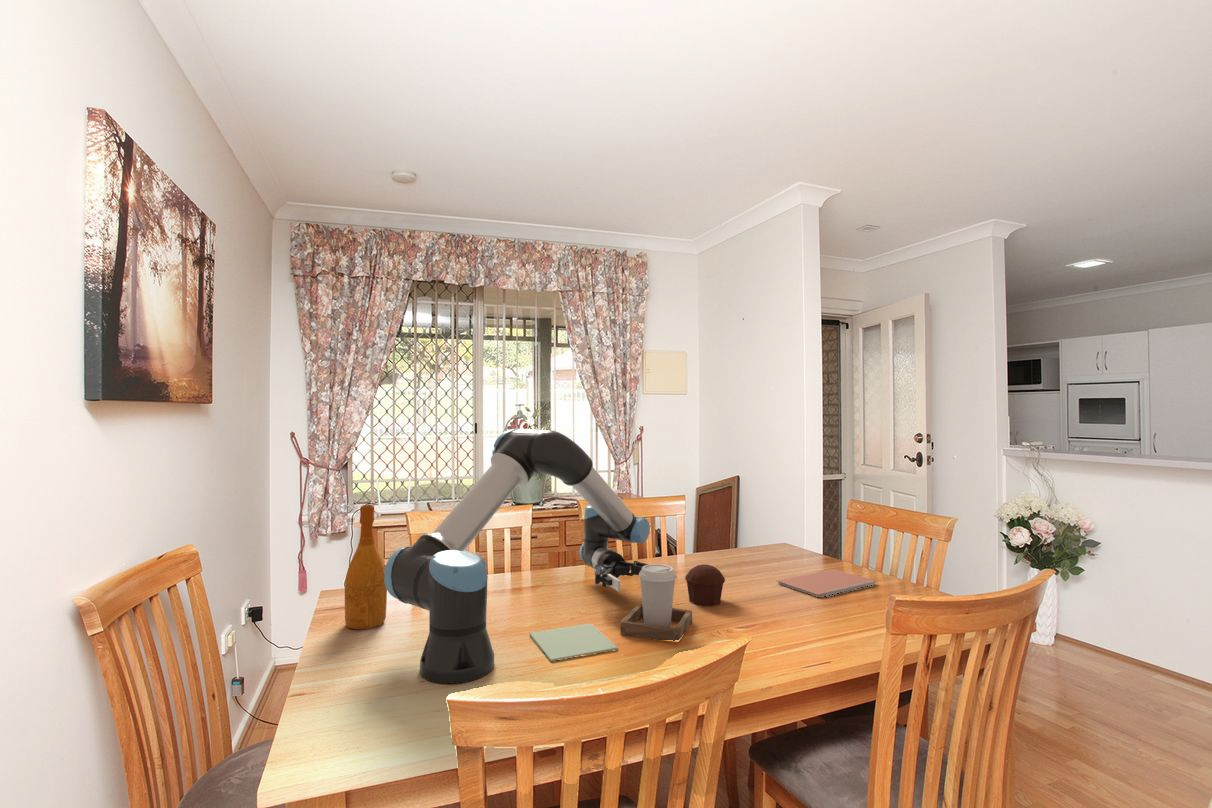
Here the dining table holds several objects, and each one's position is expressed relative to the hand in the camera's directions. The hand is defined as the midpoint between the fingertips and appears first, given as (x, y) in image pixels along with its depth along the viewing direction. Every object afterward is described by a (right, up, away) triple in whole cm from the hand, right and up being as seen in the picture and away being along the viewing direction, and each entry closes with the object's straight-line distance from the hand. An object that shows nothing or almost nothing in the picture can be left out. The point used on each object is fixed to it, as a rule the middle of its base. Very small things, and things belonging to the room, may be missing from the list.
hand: (642, 582), depth 153 cm
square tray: (+3, -9, -8) cm, 12 cm away
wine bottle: (-70, -8, -7) cm, 71 cm away
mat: (-17, -9, -17) cm, 26 cm away
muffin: (+19, -9, +13) cm, 25 cm away
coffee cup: (+3, -9, -8) cm, 12 cm away
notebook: (+60, -10, +29) cm, 68 cm away
